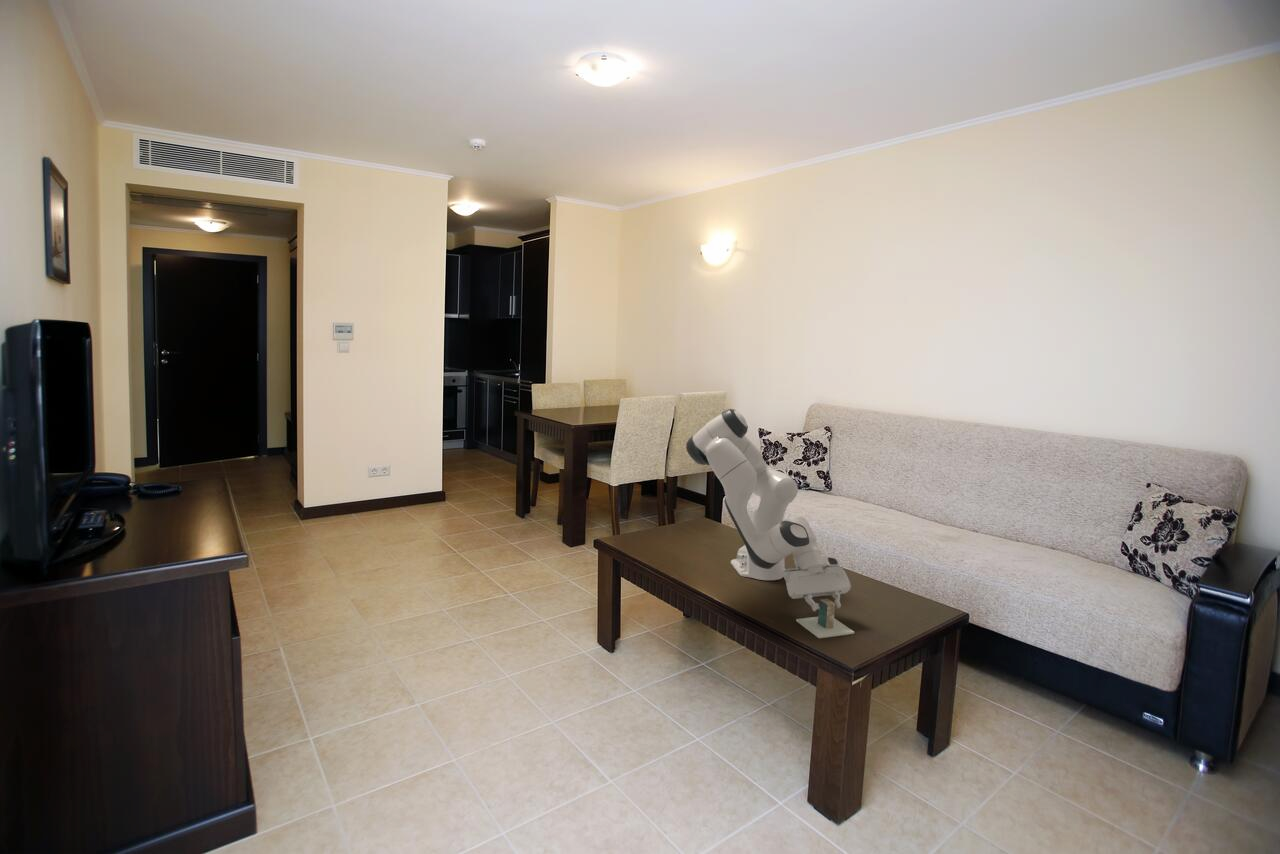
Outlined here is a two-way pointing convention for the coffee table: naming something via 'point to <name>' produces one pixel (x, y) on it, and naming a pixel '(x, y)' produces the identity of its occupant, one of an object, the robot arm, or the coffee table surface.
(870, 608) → the coffee table surface
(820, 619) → the card deck block
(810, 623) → the sage mat
